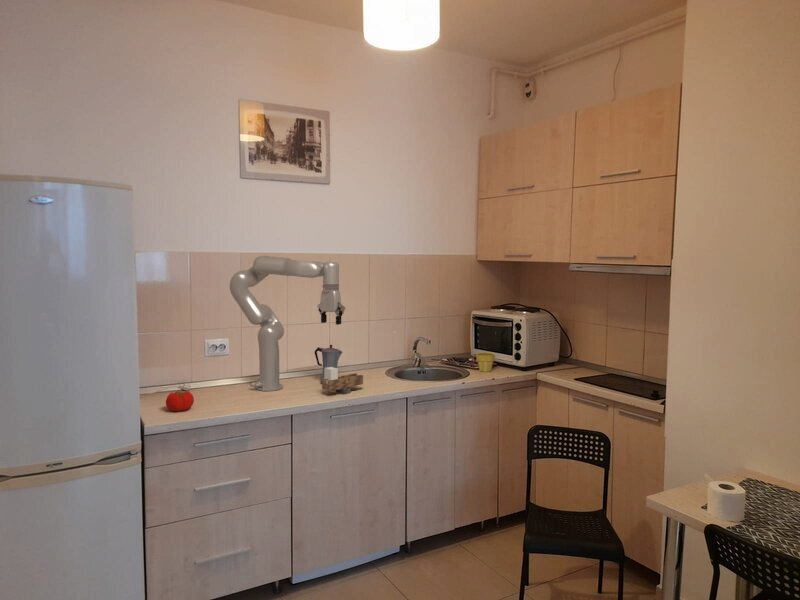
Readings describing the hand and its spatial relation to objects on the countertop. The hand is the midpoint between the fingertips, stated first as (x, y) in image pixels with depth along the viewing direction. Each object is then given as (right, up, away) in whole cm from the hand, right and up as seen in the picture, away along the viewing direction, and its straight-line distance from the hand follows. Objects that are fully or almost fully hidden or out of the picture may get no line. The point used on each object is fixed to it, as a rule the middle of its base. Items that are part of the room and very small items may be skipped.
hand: (331, 323), depth 262 cm
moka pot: (-4, -32, +17) cm, 36 cm away
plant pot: (+82, -30, +51) cm, 101 cm away
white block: (+1, -28, -7) cm, 29 cm away
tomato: (-59, -35, -33) cm, 76 cm away
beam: (+6, -33, -1) cm, 33 cm away
